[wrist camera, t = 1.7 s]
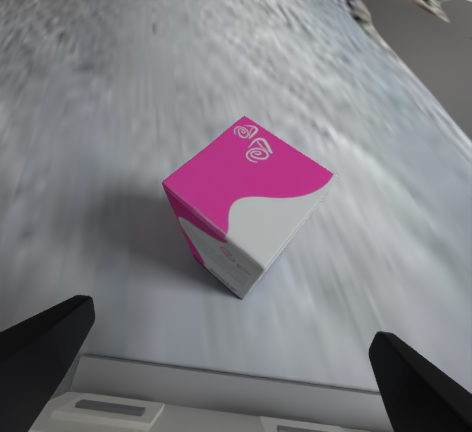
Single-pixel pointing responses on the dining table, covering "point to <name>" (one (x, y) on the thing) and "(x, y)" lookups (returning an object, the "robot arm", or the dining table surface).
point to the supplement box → (245, 202)
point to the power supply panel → (202, 402)
